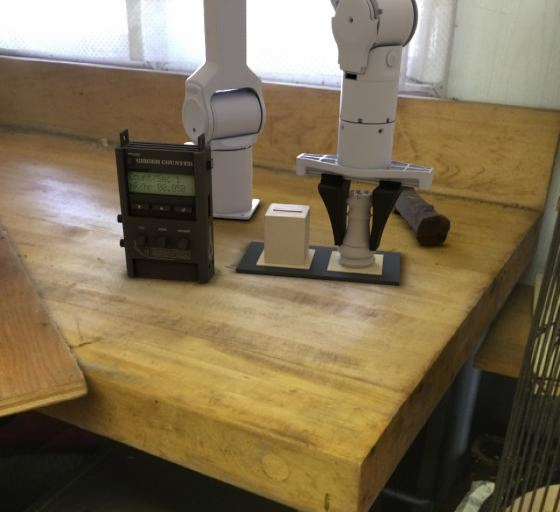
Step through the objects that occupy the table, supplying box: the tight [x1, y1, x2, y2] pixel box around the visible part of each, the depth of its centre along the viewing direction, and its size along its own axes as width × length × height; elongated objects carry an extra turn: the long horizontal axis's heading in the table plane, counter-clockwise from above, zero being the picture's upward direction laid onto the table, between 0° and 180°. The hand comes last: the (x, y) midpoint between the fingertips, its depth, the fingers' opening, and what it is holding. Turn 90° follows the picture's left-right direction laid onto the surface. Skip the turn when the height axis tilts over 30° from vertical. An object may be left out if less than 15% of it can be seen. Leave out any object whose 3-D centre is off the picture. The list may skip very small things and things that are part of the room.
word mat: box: [235, 241, 402, 286], centre depth 80 cm, size 18×9×1 cm, turn 81°
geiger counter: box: [114, 128, 216, 285], centre depth 72 cm, size 10×5×15 cm, turn 80°
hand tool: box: [392, 186, 451, 247], centre depth 92 cm, size 19×4×5 cm, turn 5°
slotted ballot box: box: [263, 202, 311, 265], centre depth 79 cm, size 4×4×6 cm
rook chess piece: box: [337, 188, 377, 268], centre depth 77 cm, size 4×4×8 cm
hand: (357, 245), depth 78 cm, fingers closed on rook chess piece, 3 cm apart
